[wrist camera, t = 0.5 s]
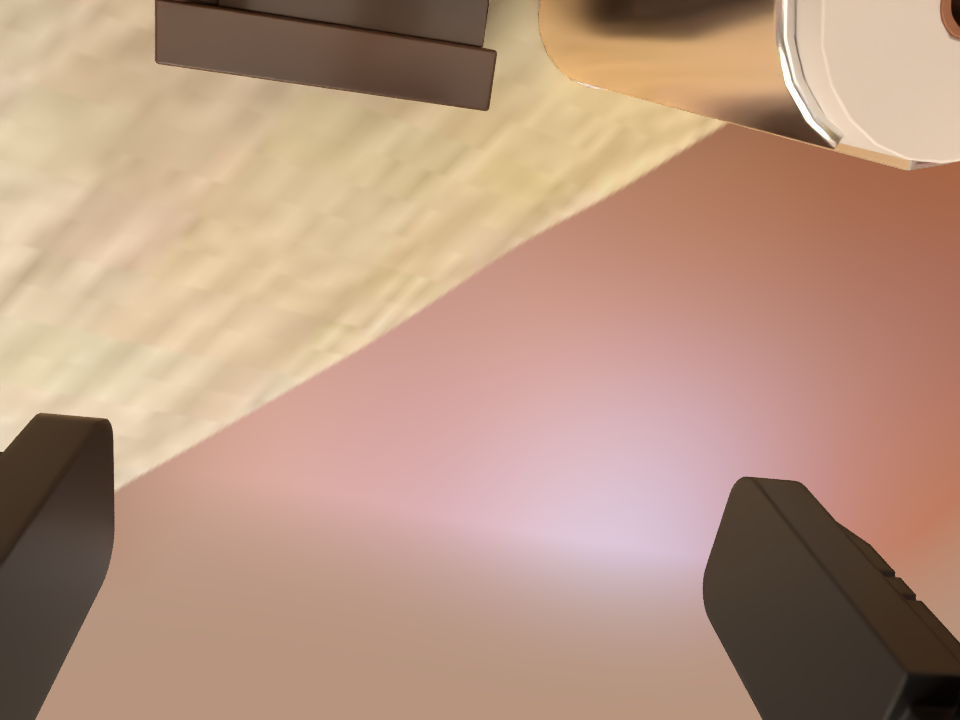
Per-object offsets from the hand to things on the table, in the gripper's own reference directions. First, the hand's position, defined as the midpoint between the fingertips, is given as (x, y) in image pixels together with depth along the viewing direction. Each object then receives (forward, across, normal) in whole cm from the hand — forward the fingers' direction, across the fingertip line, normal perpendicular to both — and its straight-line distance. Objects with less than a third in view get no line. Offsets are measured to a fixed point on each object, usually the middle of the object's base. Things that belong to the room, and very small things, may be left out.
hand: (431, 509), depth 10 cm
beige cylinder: (+30, -9, -7) cm, 32 cm away
